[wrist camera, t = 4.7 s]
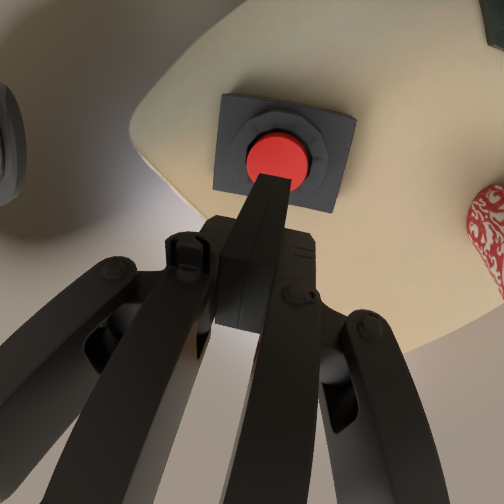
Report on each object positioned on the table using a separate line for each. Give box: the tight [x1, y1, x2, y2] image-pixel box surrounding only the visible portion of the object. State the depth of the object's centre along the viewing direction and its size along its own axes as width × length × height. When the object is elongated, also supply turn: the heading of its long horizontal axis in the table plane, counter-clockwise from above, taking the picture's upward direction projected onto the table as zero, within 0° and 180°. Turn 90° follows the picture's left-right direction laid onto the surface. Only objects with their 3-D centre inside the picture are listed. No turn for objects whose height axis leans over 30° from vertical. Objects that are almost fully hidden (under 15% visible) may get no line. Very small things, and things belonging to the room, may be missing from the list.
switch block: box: [213, 93, 357, 213], centre depth 20 cm, size 10×8×4 cm
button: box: [247, 132, 308, 192], centre depth 18 cm, size 4×4×2 cm
